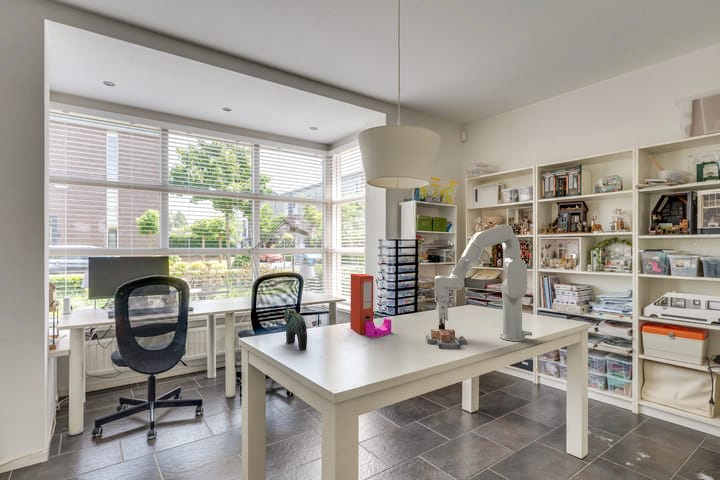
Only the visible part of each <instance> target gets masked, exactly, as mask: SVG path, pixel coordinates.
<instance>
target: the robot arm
mask: <svg viewBox="0 0 720 480" xmlns="http://www.w3.org/2000/svg"><path fill="white" fill-rule="evenodd" d="M520 243H521V242H520V241H519V239H518V236H517V235H516V234H515V233H514V230H513V228H512V226H511V225H509V224H504V223H503V224H499V225H495V226H494V227H492V228H489V229H485V230H482V231H478V232H475V233H474V234H473V235H472V236H471V237H470V240H469V242H468V243H467V245H466V247H465V250H463V252H462V255H461V256H460V258H459V259H458V261H457V263H456V264H455V266H454V268H453V270H452V271H451V273H450V275H449V276H447V275H436V276H435V277H434V302H435V303H436V318H437V320H438V329H446V322H448V321H449V308H448V303H449V301H450V290H452V291H461V290H462V289H463V288H464V287H465V281H464V280H465V278H466V276H467V275H468V273H469V271H470V270H471V269H472V268H473V267H475V265H476V264H477V263H478V261H479V259H480V258H481V256H482V254H483V252H484V250H485V249H486V248H490V247H492V246H495V245H496V246H497V245H498V244H501V246H502V255H503V256H502V269H503V271H504V273H505V274H506V276H507V277H506V279H505V280H504V281H502V284H501V296H502V333H500V335H499V338H500V339H502V340H505V341H509V342H524V341H526V337H527V336H530V337H531V336H533V332H532V331H527V330H523V300H522V298H523V297H525V296H526V295H527V292H528V267H527V266H528V265H527V264H526V262H525V260H523V259H522V253H521V244H520Z"/></svg>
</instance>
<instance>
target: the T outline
mask: <svg viewBox="0 0 720 480" xmlns="http://www.w3.org/2000/svg"><path fill="white" fill-rule="evenodd" d="M425 340H426V344H429V345H430V344H432V345H436V346H437V347H438V349H444V350H445V349H449V350H452V349H454V350H455V349H457V350H459V349H461V345H467V339H466V338H465V336H463V335H459V338H457V339H456V338H455V339H453V343H441V341H440V339H432V338H431V336H429V335H428V334H426V335H425Z"/></svg>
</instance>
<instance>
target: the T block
mask: <svg viewBox="0 0 720 480" xmlns="http://www.w3.org/2000/svg"><path fill="white" fill-rule="evenodd" d="M430 339H440V341H441V343H448V344H451V342H450V340H454V339H456V331H455V329H446V328H445V329H439V328H438V329H436V328H433V329H432V328H431V329H430Z"/></svg>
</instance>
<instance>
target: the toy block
mask: <svg viewBox="0 0 720 480" xmlns="http://www.w3.org/2000/svg"><path fill="white" fill-rule="evenodd" d="M390 333H392V319H391V318H383V322H382V324H381V325H380V326H379V327H376V325H375V322H374V321H373V322H371V321H367V322H366V334H365V335H366V336H367V337H370V338H377V337H382V335H383V336H387V335H388V334H390Z"/></svg>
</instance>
